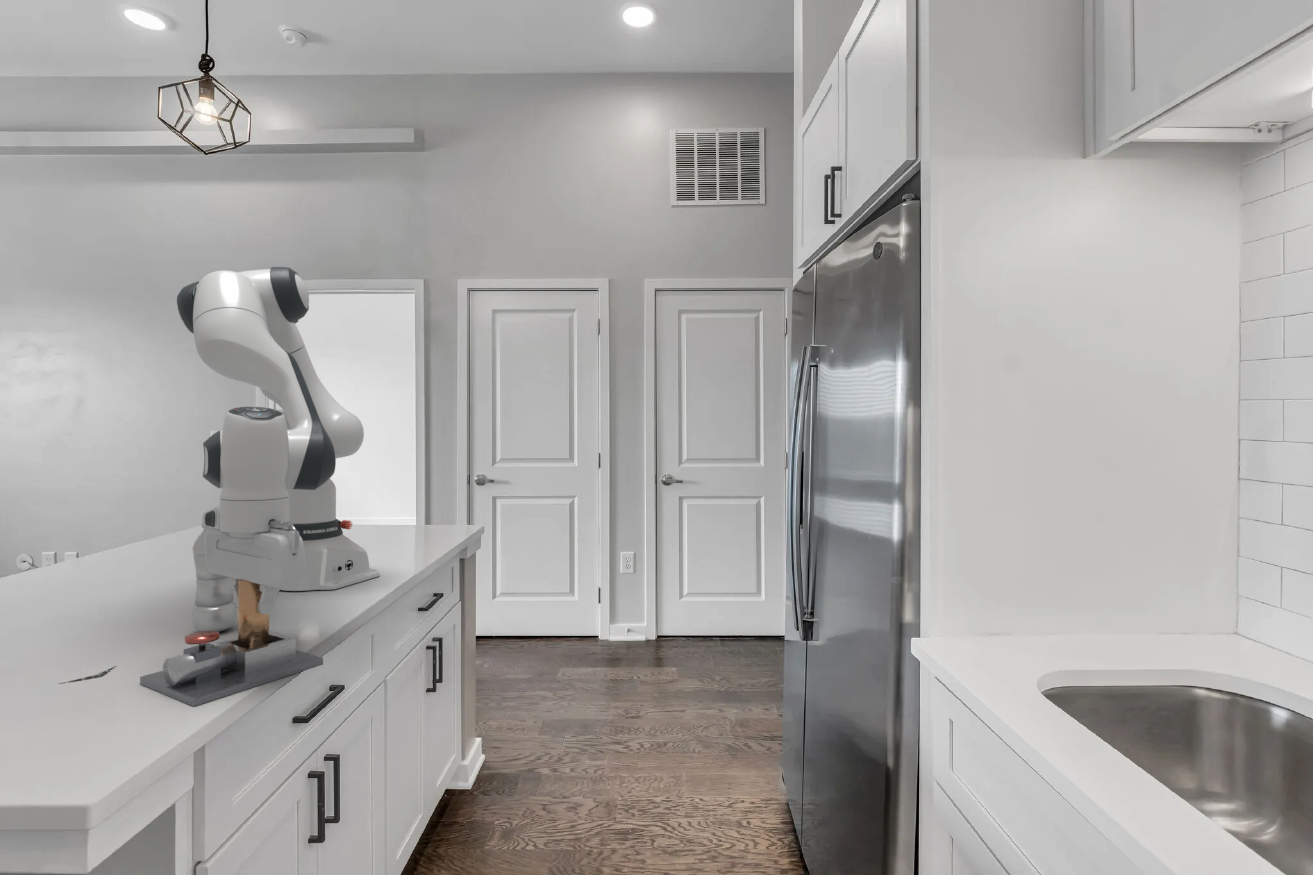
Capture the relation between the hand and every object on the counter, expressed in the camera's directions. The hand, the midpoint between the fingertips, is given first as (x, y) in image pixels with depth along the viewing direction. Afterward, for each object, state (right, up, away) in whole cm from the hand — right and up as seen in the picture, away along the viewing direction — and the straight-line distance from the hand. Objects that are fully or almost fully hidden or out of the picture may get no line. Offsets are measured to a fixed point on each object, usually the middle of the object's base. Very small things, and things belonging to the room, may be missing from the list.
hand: (254, 610), depth 101 cm
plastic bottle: (-17, -8, +17) cm, 25 cm away
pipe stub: (0, -5, 0) cm, 5 cm away
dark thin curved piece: (-21, -9, -3) cm, 23 cm away
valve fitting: (-1, -9, -2) cm, 9 cm away
